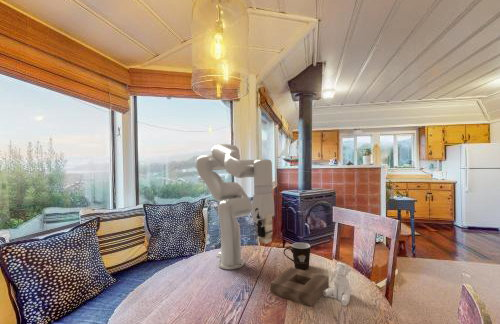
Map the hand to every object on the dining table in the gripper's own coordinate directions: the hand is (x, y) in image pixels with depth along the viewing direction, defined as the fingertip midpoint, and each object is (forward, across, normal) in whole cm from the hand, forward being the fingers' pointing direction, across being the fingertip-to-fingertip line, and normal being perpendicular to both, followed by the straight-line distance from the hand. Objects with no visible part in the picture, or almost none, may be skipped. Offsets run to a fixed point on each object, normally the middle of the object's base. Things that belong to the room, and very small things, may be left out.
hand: (264, 234), depth 100 cm
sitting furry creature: (+20, -6, +28) cm, 34 cm away
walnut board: (+19, -2, +14) cm, 24 cm away
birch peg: (+3, 0, 0) cm, 3 cm away
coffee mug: (+19, -21, +4) cm, 29 cm away
